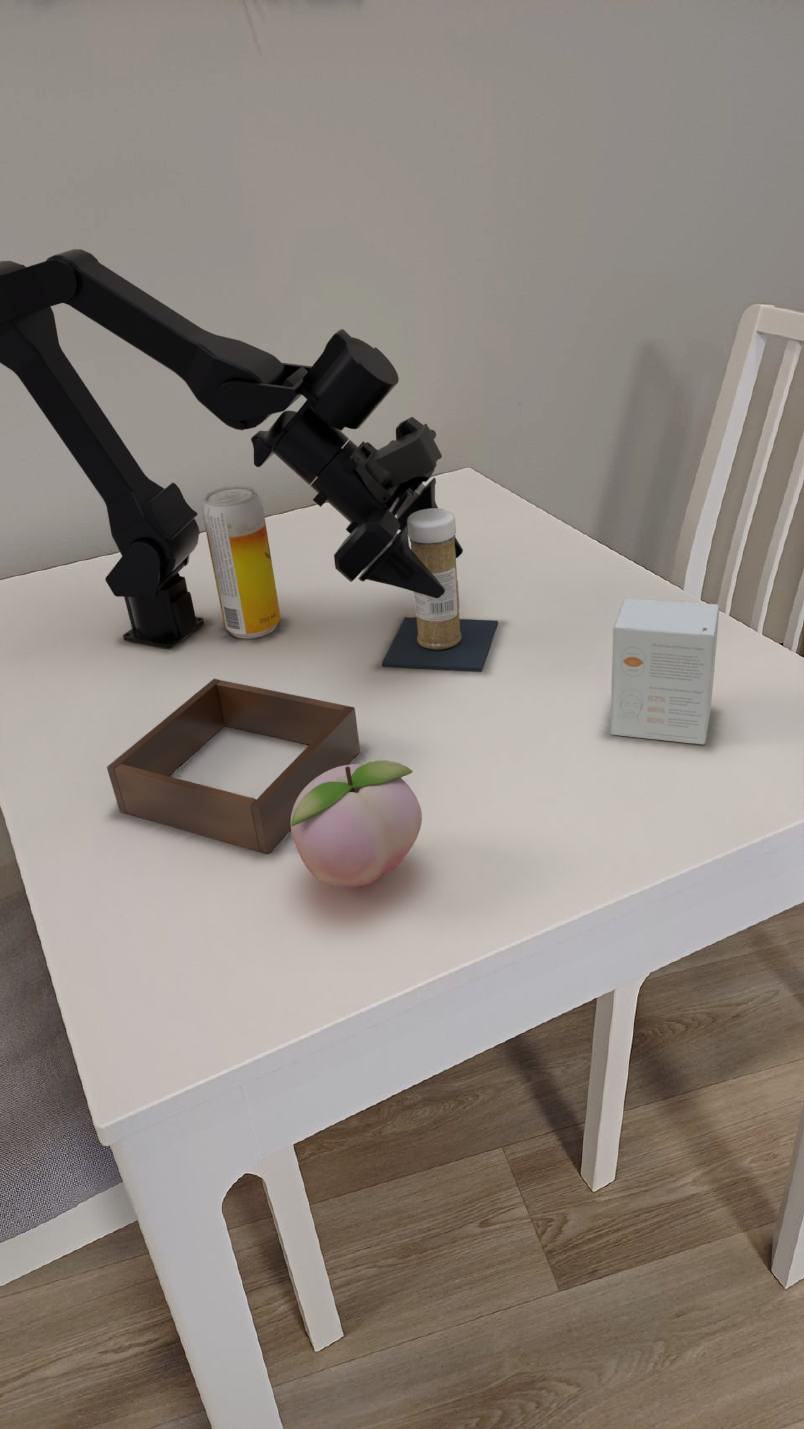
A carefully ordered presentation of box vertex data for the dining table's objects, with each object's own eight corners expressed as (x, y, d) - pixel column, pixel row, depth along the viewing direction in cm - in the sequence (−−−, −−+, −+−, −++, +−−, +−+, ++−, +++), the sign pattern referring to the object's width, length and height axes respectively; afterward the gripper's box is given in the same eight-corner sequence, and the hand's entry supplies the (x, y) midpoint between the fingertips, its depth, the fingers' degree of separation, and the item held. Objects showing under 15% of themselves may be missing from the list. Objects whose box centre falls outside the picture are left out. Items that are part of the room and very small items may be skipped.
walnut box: (119, 811, 81) (106, 766, 79) (222, 720, 92) (213, 678, 89) (268, 854, 75) (259, 807, 73) (360, 750, 86) (355, 707, 83)
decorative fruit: (373, 823, 77) (360, 715, 72) (445, 872, 72) (437, 759, 66) (274, 882, 72) (252, 770, 67) (343, 939, 67) (325, 823, 61)
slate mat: (381, 666, 98) (381, 663, 98) (405, 620, 106) (404, 616, 106) (481, 671, 96) (481, 668, 95) (497, 623, 104) (497, 620, 103)
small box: (711, 711, 87) (722, 603, 81) (705, 747, 82) (717, 635, 77) (618, 701, 89) (623, 595, 83) (608, 735, 85) (612, 626, 79)
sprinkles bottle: (461, 629, 102) (455, 505, 95) (461, 651, 98) (454, 523, 91) (417, 631, 103) (407, 507, 96) (415, 652, 99) (405, 525, 92)
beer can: (291, 618, 108) (271, 486, 100) (262, 644, 104) (239, 508, 96) (245, 611, 111) (221, 482, 103) (214, 636, 106) (187, 502, 98)
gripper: (355, 432, 81) (493, 560, 84) (406, 373, 96) (522, 484, 99) (278, 522, 87) (409, 638, 90) (338, 453, 102) (449, 555, 105)
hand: (451, 574), depth 96 cm, fingers open, 9 cm apart
